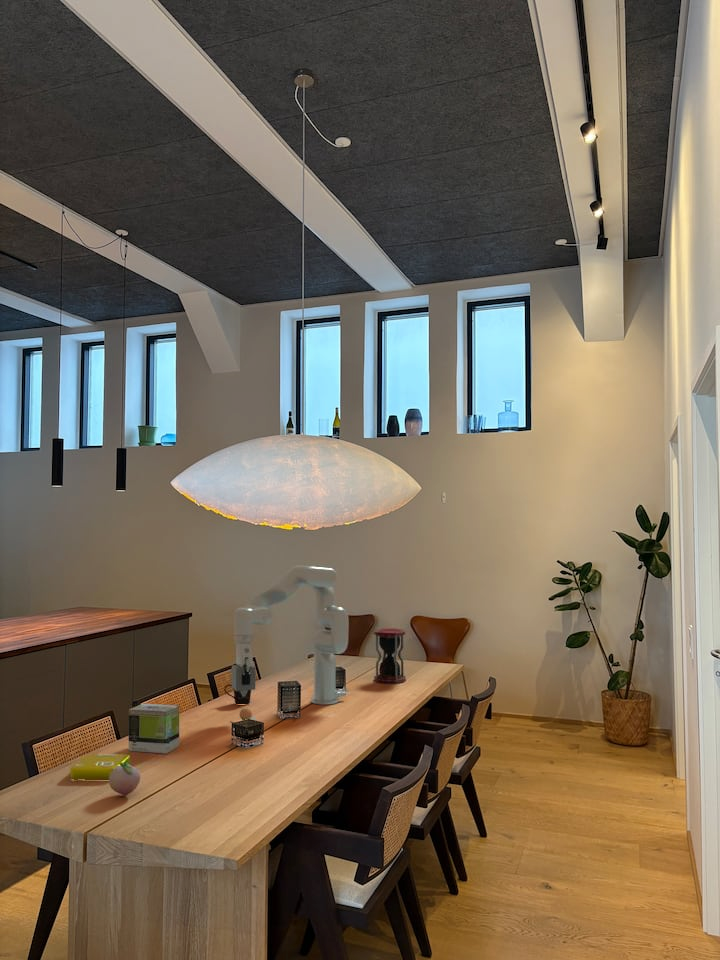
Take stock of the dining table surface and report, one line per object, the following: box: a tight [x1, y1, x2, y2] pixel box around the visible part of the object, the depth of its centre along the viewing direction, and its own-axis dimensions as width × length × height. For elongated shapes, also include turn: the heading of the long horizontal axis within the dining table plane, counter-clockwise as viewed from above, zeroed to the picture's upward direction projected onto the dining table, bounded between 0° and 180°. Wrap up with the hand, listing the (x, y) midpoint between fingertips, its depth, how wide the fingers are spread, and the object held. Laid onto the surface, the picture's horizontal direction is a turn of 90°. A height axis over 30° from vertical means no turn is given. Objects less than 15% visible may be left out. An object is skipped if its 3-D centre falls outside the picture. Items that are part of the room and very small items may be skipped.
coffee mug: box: [223, 683, 252, 705], centre depth 332 cm, size 12×9×10 cm
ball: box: [239, 707, 253, 720], centre depth 304 cm, size 5×5×5 cm
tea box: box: [128, 703, 180, 754], centre depth 267 cm, size 15×10×15 cm
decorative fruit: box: [108, 761, 141, 796], centre depth 221 cm, size 9×8×10 cm
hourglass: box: [373, 628, 407, 685], centre depth 379 cm, size 16×16×25 cm
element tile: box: [69, 753, 131, 780], centre depth 241 cm, size 15×15×5 cm
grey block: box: [231, 664, 256, 691], centre depth 304 cm, size 8×8×9 cm
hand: (243, 682), depth 304 cm, fingers closed on grey block, 7 cm apart
